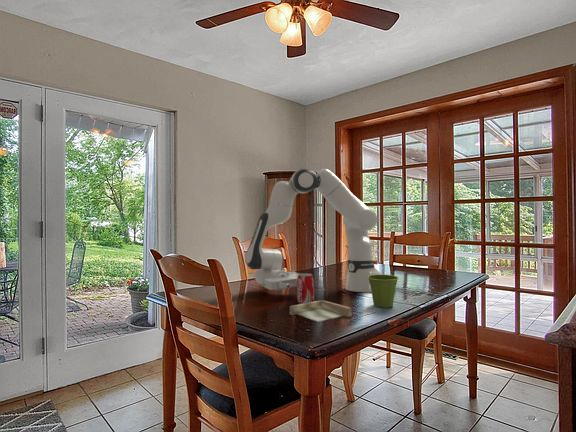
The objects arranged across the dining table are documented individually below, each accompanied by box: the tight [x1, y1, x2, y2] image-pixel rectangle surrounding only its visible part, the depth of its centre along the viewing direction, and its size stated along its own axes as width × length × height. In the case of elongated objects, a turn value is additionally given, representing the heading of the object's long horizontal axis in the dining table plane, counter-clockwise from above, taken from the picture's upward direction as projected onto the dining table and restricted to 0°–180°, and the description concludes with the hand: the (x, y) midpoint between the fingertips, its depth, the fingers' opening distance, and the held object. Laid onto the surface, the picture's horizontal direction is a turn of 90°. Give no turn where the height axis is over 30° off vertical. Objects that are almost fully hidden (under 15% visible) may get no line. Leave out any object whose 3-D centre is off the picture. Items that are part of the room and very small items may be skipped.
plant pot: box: [367, 273, 399, 309], centre depth 138 cm, size 12×12×11 cm
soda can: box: [296, 272, 315, 304], centre depth 142 cm, size 7×7×12 cm
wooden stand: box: [289, 299, 352, 323], centre depth 126 cm, size 16×16×3 cm
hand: (297, 284), depth 147 cm, fingers open, 8 cm apart
